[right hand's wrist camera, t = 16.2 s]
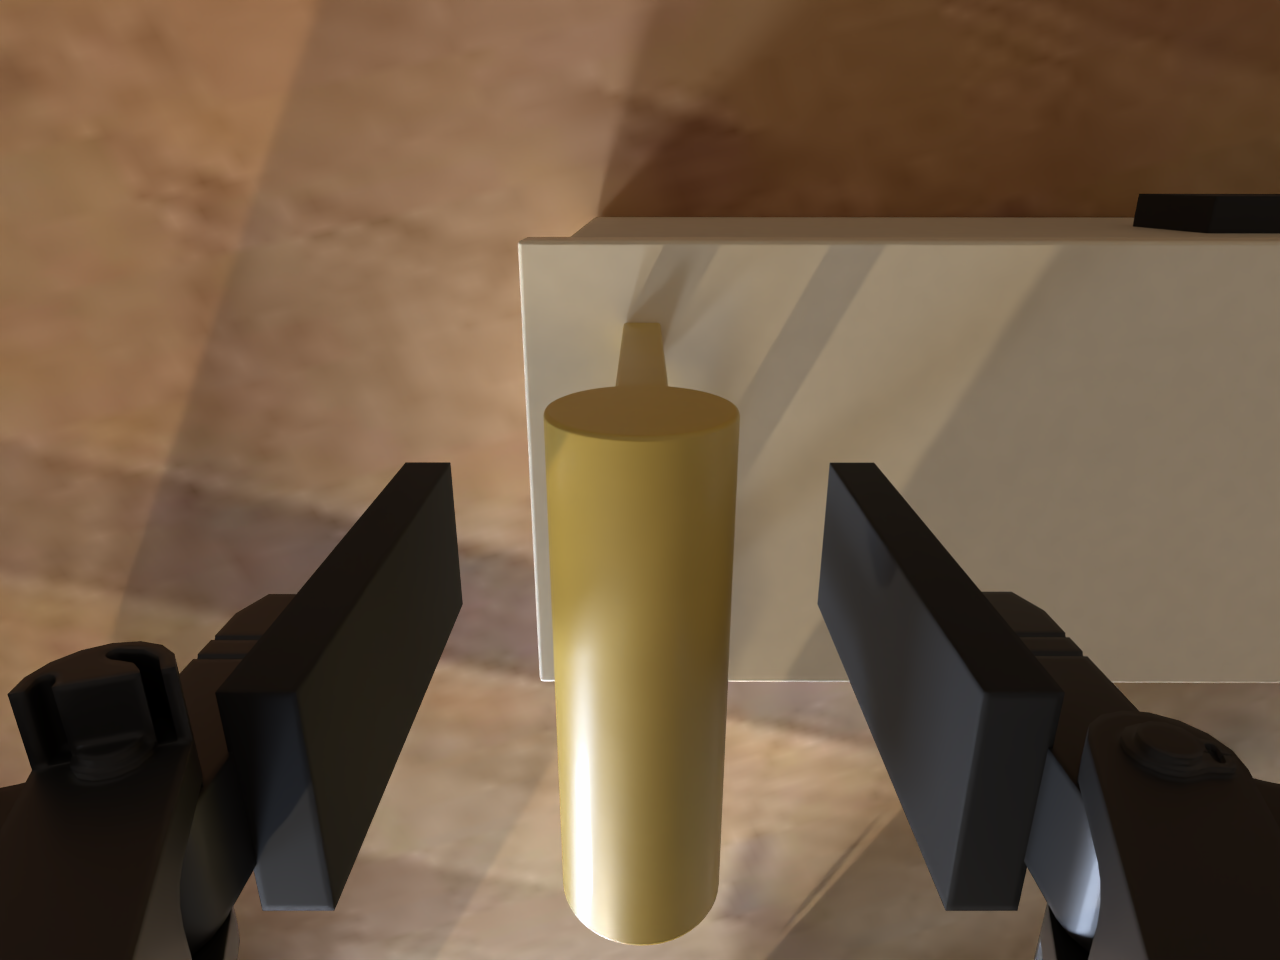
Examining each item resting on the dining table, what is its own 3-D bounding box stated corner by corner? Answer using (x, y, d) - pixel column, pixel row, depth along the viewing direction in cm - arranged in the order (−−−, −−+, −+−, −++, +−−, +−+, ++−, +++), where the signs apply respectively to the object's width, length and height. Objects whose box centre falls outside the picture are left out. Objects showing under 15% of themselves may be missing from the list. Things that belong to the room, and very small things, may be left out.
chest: (599, 512, 27) (580, 659, 19) (594, 216, 24) (569, 237, 15) (1109, 512, 27) (1318, 661, 19) (1174, 217, 24) (1463, 237, 15)
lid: (544, 660, 19) (470, 1020, 11) (523, 236, 15) (395, 298, 7) (1319, 662, 19) (1829, 1025, 11) (1465, 237, 15) (2364, 300, 7)
